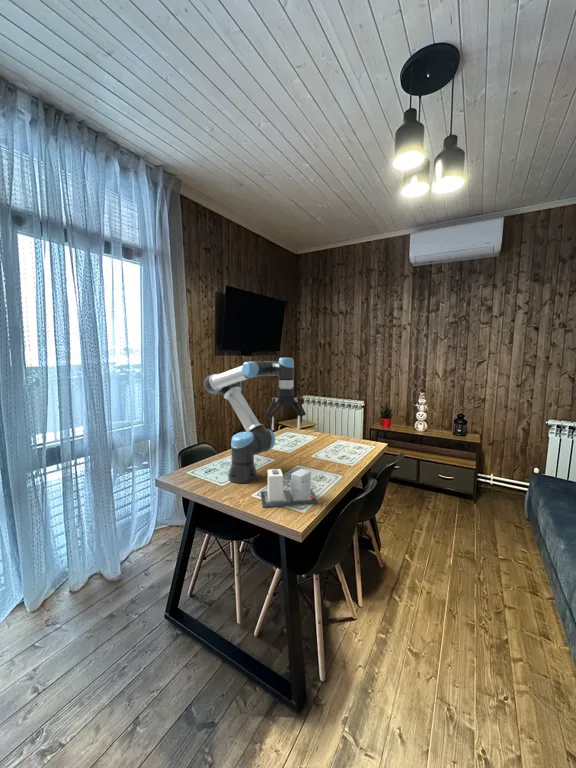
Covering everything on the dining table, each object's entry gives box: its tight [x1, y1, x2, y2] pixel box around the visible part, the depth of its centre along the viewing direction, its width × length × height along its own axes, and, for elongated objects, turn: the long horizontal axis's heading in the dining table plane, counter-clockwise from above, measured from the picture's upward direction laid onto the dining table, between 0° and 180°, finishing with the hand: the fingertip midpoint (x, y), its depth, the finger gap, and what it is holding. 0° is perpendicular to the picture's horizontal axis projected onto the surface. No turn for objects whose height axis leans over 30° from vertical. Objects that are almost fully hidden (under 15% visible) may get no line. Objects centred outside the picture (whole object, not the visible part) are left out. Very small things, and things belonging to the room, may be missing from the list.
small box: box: [290, 468, 312, 499], centre depth 139 cm, size 8×6×10 cm
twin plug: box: [267, 468, 284, 501], centre depth 137 cm, size 6×8×12 cm
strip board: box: [260, 488, 318, 508], centre depth 139 cm, size 24×12×2 cm, turn 99°
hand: (285, 429), depth 158 cm, fingers open, 13 cm apart
